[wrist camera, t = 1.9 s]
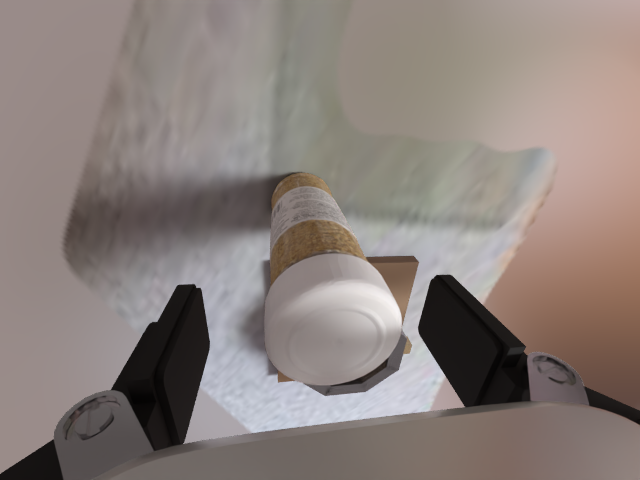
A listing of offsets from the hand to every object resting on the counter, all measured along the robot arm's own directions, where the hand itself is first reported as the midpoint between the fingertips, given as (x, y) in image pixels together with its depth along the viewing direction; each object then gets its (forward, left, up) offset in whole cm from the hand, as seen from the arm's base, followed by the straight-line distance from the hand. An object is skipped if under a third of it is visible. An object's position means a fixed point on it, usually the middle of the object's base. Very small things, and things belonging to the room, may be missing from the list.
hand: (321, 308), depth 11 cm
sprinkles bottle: (-1, 0, -11) cm, 11 cm away
